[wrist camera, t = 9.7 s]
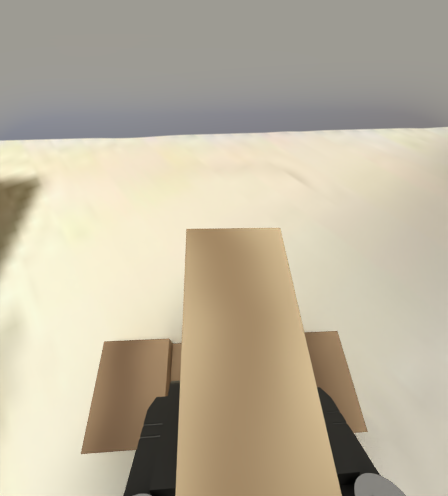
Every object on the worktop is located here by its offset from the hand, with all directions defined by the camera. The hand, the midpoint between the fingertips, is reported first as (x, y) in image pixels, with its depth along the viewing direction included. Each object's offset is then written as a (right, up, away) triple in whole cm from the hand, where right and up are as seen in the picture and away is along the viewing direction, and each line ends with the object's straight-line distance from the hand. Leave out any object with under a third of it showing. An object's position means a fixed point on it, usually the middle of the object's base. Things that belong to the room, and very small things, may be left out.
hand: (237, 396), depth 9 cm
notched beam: (0, -4, +8) cm, 9 cm away
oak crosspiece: (0, -1, +5) cm, 5 cm away
